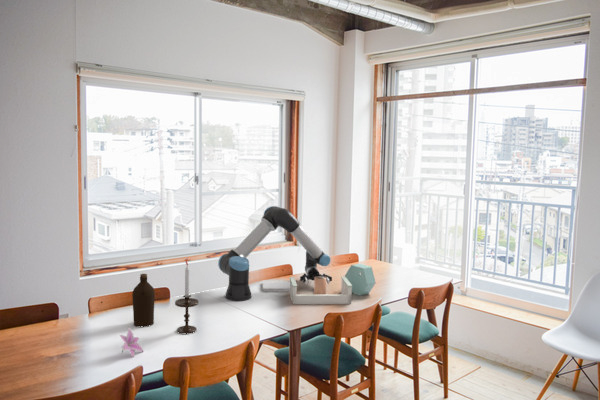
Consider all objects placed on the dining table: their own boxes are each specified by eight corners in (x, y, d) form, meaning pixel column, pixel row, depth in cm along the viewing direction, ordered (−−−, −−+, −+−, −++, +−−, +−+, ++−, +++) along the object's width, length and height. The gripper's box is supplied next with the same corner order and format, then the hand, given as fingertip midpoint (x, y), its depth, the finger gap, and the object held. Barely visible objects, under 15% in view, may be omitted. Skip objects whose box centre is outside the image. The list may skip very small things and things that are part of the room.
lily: (117, 364, 201) (128, 345, 199) (105, 345, 208) (116, 326, 207) (141, 363, 210) (152, 345, 209) (129, 345, 217) (140, 328, 216)
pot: (314, 300, 289) (315, 279, 288) (313, 297, 296) (313, 275, 295) (326, 300, 290) (327, 279, 288) (324, 297, 297) (325, 275, 295)
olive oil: (158, 324, 243) (158, 275, 241) (138, 329, 236) (138, 278, 234) (148, 318, 251) (148, 270, 248) (128, 323, 244) (128, 273, 241)
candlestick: (177, 336, 229) (177, 262, 226) (173, 328, 239) (173, 257, 235) (200, 333, 234) (201, 260, 230) (195, 325, 243) (196, 256, 240)
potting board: (263, 291, 304) (263, 288, 304) (262, 283, 322) (262, 280, 322) (292, 291, 306) (292, 288, 306) (289, 283, 324) (289, 280, 324)
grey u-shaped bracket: (292, 304, 281) (292, 285, 280) (289, 293, 301) (289, 276, 300) (351, 303, 285) (352, 285, 284) (344, 293, 305) (345, 276, 304)
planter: (365, 299, 310) (380, 276, 299) (356, 301, 305) (371, 278, 294) (349, 280, 320) (363, 257, 309) (341, 281, 315) (355, 258, 304)
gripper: (331, 279, 324) (337, 288, 303) (293, 279, 321) (297, 288, 300) (332, 267, 323) (338, 276, 302) (294, 267, 321) (297, 276, 300)
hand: (317, 282), depth 301 cm, fingers open, 13 cm apart
